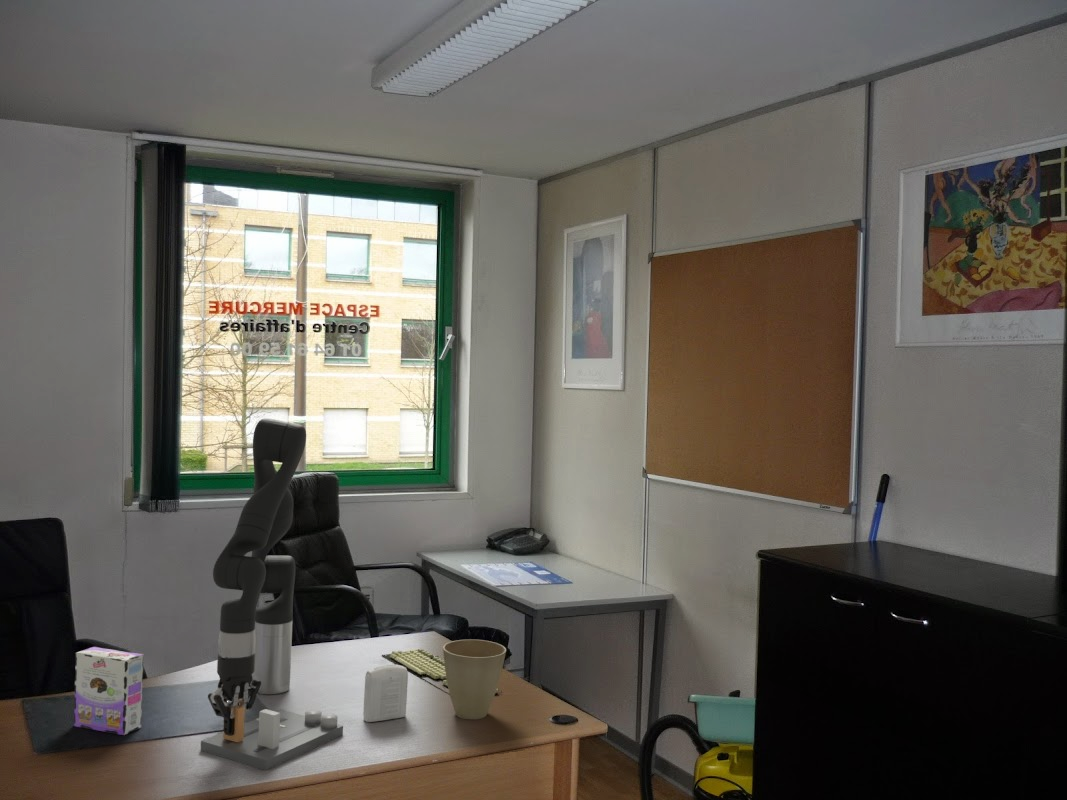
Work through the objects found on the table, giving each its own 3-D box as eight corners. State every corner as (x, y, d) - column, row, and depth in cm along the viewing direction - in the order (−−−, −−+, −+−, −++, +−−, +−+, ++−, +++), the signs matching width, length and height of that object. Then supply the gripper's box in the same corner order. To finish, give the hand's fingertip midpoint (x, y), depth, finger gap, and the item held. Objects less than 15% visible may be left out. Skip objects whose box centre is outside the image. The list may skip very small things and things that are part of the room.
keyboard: (380, 658, 287) (381, 649, 287) (426, 653, 295) (427, 644, 295) (463, 706, 250) (463, 696, 250) (512, 698, 258) (513, 688, 258)
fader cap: (223, 738, 214) (224, 705, 214) (229, 735, 216) (230, 703, 215) (237, 742, 212) (238, 709, 212) (243, 739, 214) (244, 706, 214)
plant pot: (438, 724, 235) (441, 655, 234) (441, 703, 249) (444, 638, 249) (503, 726, 235) (506, 657, 235) (502, 705, 250) (505, 640, 250)
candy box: (142, 727, 224) (145, 653, 223) (123, 736, 218) (126, 660, 218) (91, 718, 228) (94, 645, 228) (72, 726, 223) (74, 651, 222)
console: (200, 750, 213) (202, 707, 212) (280, 718, 234) (282, 679, 234) (265, 770, 204) (267, 725, 204) (342, 734, 225) (344, 694, 225)
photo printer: (400, 712, 242) (402, 660, 241) (408, 717, 238) (411, 665, 238) (360, 718, 236) (362, 665, 236) (368, 724, 233) (370, 670, 232)
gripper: (247, 640, 221) (243, 720, 222) (198, 655, 209) (195, 739, 210) (273, 646, 218) (270, 727, 218) (225, 661, 205) (222, 747, 206)
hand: (233, 732), depth 214 cm, fingers closed on fader cap, 2 cm apart
